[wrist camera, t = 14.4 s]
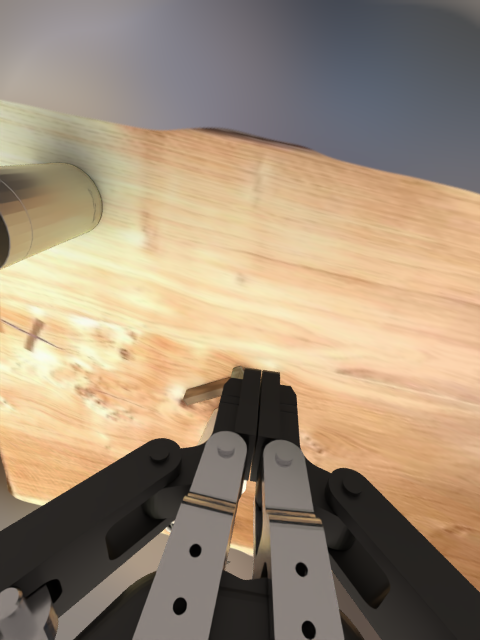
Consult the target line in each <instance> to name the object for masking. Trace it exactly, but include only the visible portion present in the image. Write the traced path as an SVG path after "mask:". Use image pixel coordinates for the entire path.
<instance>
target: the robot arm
mask: <svg viewBox="0 0 480 640" xmlns="http://www.w3.org/2000/svg"><path fill="white" fill-rule="evenodd" d="M101 213H102V202H101V197H100V194H99V192H98V189H97V188H96V186H95V184H94V182H93V181H92V180H91V179H90V178H89V176H88V175H87V174H85V173H84V172H83V171H82V170H80V169H79V168H77V167H75V166H73V165H70V164H67V163H46V164H27V165H10V166H0V270H1V269H3V268H5V267H8V266H10V265H12V264H15V263H17V262H19V261H21V260H24V259H26V258H28V257H31V256H33V255H35V254H38V253H40V252H42V251H45V250H47V249H49V248H52V247H54V246H56V245H59V244H61V243H63V242H66V241H68V240H70V239H73V238H75V237H78V236H80V235H82V234H85V233H87V232H89V231H91V230H92V229H94V228H95V226H96V225H97V224H98V222H99V220H100V218H101ZM260 382H261V383H260ZM297 414H298V411H297V397H296V394H295V392H294V391H293V389H292V387H291V386H285V385H280V372H273V371H267V370H263V371H262V377H261V370H259V369H252V368H246V367H245V369H244V375H243V379H238V378H230V379H229V380H228V381H227V382H226V383H225V384H224V386H223V391H222V396H221V399H220V403H219V408H218V412H217V416H216V420H215V425H214V429H213V432H212V435H211V436H210V438H209V439H208V440H207V441H206V442H204V443H203V444H201V445H198V446H195V447H189V448H181V449H180V447H179V445H178V444H177V443H176V442H174V441H172V440H170V439H166V438H159V439H154V440H151V441H149V442H147V443H146V444H144V445H142V446H141V447H139V448H137V449H136V450H134V451H132V452H131V453H129V454H127V455H126V456H124V457H123V458H121V459H119V460H118V461H116V462H114V463H113V464H111V465H109V466H108V467H106V468H104V469H103V470H101V471H99V472H98V473H96V474H94V475H93V476H91V477H89V478H88V479H86V480H84V481H83V482H81V483H79V484H78V485H76V486H75V487H73V488H71V489H70V490H68V491H66V492H65V493H63V494H61V495H60V496H58V497H56V498H55V499H53V500H51V501H50V502H48V503H46V504H45V505H43V506H41V507H40V508H38V509H37V510H35V511H33V512H32V513H30V514H28V515H27V516H25V517H23V518H22V519H20V520H18V521H17V522H15V523H13V524H12V525H10V526H8V527H7V528H5V529H3V530H2V531H0V640H55V637H56V634H57V630H58V618H59V617H60V616H61V615H63V614H64V613H65V612H66V611H67V610H69V609H70V608H71V607H72V606H73V605H75V604H76V603H77V602H78V601H79V600H80V599H82V598H83V597H84V596H85V595H86V594H88V593H89V592H90V591H91V590H92V589H93V588H95V587H96V586H97V585H98V584H100V583H101V582H102V581H103V580H104V579H106V578H107V577H108V576H109V575H110V574H112V573H113V572H114V571H115V570H116V569H117V568H118V567H120V566H121V565H122V564H123V563H125V562H126V561H127V560H128V559H129V558H131V557H132V556H133V555H134V554H135V553H137V552H138V551H139V550H140V549H141V548H142V547H144V546H145V545H146V544H147V543H148V542H149V541H151V540H152V539H153V538H154V537H156V536H157V535H158V534H159V533H160V532H162V531H163V530H164V529H165V528H166V527H167V526H169V525H170V524H171V523H172V522H173V521H174V520H175V522H174V525H173V527H172V530H171V533H170V536H169V539H168V542H167V544H166V547H165V550H164V553H163V555H162V559H161V561H160V564H159V567H158V570H157V571H155V572H153V573H150V574H148V575H146V576H144V577H142V578H141V579H139V580H137V581H136V582H135V583H133V584H132V585H131V586H129V587H128V588H127V589H126V590H125V591H124V592H123V593H122V594H121V595H120V596H119V597H118V598H117V599H115V600H114V601H113V602H112V603H111V604H110V605H109V606H108V607H107V608H106V609H105V610H104V611H103V612H102V613H101V614H100V615H99V616H98V617H97V618H96V619H95V620H93V621H92V622H91V623H90V624H89V625H88V626H87V627H86V628H85V629H84V630H83V631H82V632H81V633H80V634H79V635H78V636H77V637H76V638H75V639H74V640H364V638H363V637H362V635H361V634H360V632H359V631H358V630H357V628H356V627H355V626H354V625H353V623H352V622H351V621H350V620H349V619H348V617H347V616H346V615H345V614H344V613H343V612H342V611H341V610H340V609H339V608H338V603H337V598H336V592H335V587H334V581H333V576H332V571H333V573H334V574H335V575H336V577H337V578H338V579H339V581H340V582H341V584H342V585H343V587H344V588H345V589H346V591H347V592H348V594H349V595H350V596H351V598H352V599H353V600H354V602H355V603H356V605H357V606H358V607H359V609H360V610H361V612H362V613H363V614H364V616H365V617H366V618H367V620H368V621H369V623H370V624H371V626H372V627H373V628H374V630H375V631H376V632H377V634H378V635H379V637H380V638H381V639H382V640H480V592H479V591H478V590H477V589H476V588H475V587H474V586H473V585H472V584H471V583H470V582H469V581H468V580H467V579H466V578H465V577H464V576H463V575H462V574H461V573H460V572H459V571H458V570H457V569H456V568H455V567H454V566H453V565H452V564H451V563H450V562H449V561H448V560H447V559H446V558H445V557H444V556H443V555H442V554H441V553H440V552H439V551H438V550H437V549H436V548H435V547H434V546H433V545H432V544H431V543H430V542H429V541H428V540H427V539H426V538H425V537H424V536H423V535H422V534H421V533H420V532H419V531H418V530H417V529H416V528H415V527H414V526H413V525H412V524H411V523H410V522H409V521H408V520H407V519H406V518H405V517H404V516H403V515H402V514H401V513H400V512H399V511H398V510H397V509H396V508H395V507H394V506H393V505H392V504H391V503H390V502H389V501H388V500H387V499H386V498H385V497H384V496H383V495H382V494H381V493H380V492H379V491H378V490H377V489H376V488H375V487H374V486H373V485H372V484H371V483H370V482H369V481H368V480H367V479H366V478H365V477H364V476H363V475H361V474H360V473H358V472H356V471H354V470H352V469H348V468H339V469H336V470H334V471H333V472H332V473H330V472H328V471H325V470H323V469H321V468H319V467H317V466H315V465H314V464H312V463H311V462H310V461H308V460H307V458H306V457H305V456H304V454H303V452H302V451H301V448H300V440H299V426H298V415H297ZM251 462H252V464H251ZM250 467H251V475H250V481H254V482H256V491H255V497H254V503H253V543H254V560H253V575H252V580H243V579H240V578H238V577H236V576H234V575H232V574H230V573H228V572H227V571H225V569H226V564H227V558H228V553H229V548H230V543H231V538H232V533H233V528H234V522H235V517H236V512H237V507H238V502H239V499H240V497H241V495H242V489H243V483H244V480H247V481H248V479H249V473H250ZM331 570H332V571H331Z"/></svg>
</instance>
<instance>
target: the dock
mask: <svg viewBox="0 0 480 640" xmlns="http://www.w3.org/2000/svg"><path fill="white" fill-rule="evenodd" d="M243 375H244V371H243V369H242V367H241V366H239V367H236V368H233V371H232V376H231V377H228V378H225V379H222V380H218V381H215V382H211V383H208V384H205V385H201V386H198V387H195V388H191V389H188V390H186V393H185V395H184V398H183V400H184V402H185V403H186V405H191V404H194V403H198V402H202V401H205V400H209V399H212V398H216V397H219V396H222V391H223V386H224V384H225V383H226V382H227V381H228V380H229V379H230V378H238V379H243Z"/></svg>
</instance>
